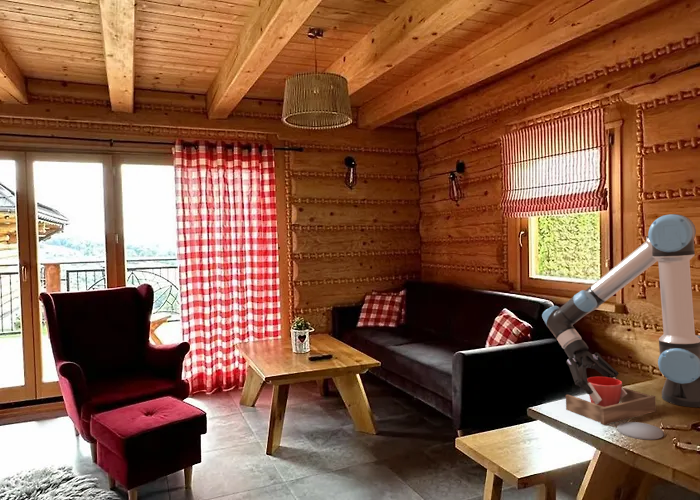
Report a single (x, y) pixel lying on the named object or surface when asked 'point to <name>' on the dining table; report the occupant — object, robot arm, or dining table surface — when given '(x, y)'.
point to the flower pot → (606, 390)
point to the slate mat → (640, 430)
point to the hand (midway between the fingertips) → (611, 399)
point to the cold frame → (613, 407)
